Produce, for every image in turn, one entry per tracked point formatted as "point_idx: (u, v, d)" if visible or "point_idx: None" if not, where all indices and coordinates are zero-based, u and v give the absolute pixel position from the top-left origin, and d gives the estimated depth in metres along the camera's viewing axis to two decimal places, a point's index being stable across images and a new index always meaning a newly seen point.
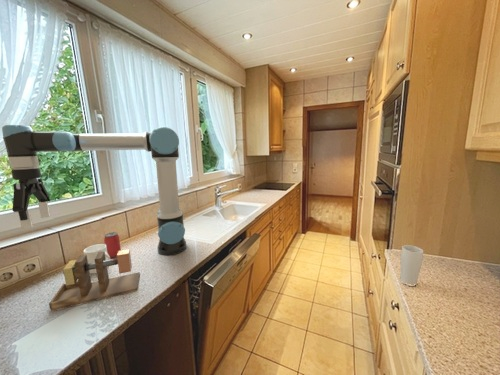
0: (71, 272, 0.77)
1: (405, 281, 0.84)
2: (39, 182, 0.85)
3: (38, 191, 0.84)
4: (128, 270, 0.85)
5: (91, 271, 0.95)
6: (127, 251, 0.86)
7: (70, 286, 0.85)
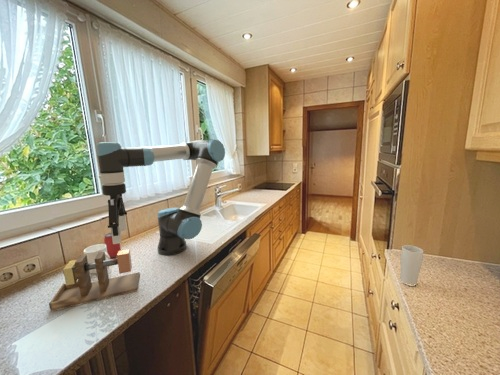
0: (71, 272, 0.77)
1: (405, 281, 0.84)
2: (120, 196, 0.87)
3: (120, 205, 0.85)
4: (128, 270, 0.85)
5: (91, 271, 0.95)
6: (127, 251, 0.86)
7: (70, 286, 0.85)
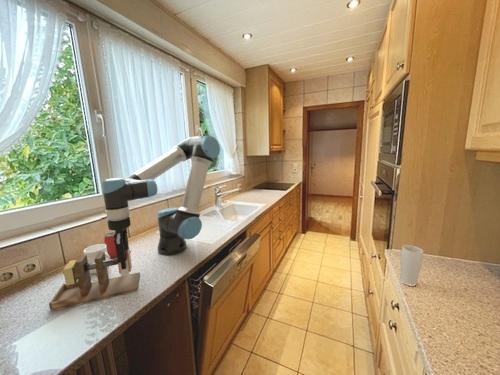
0: (71, 272, 0.77)
1: (405, 281, 0.84)
2: None
3: None
4: None
5: (91, 271, 0.95)
6: (127, 251, 0.86)
7: (70, 286, 0.85)
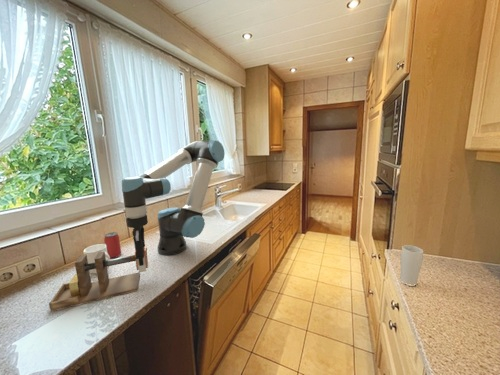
0: (76, 286, 0.78)
1: (405, 281, 0.84)
2: (141, 228, 0.91)
3: None
4: None
5: (91, 271, 0.95)
6: (144, 248, 0.88)
7: None
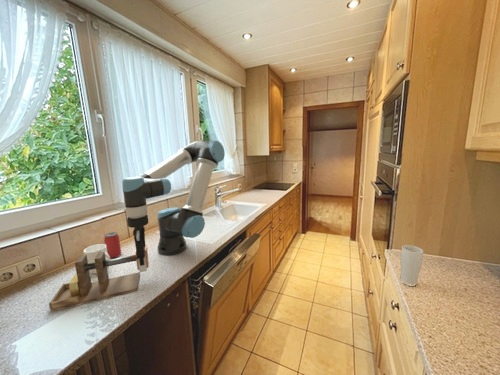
0: (76, 286, 0.78)
1: (405, 281, 0.84)
2: None
3: (142, 237, 0.89)
4: None
5: (91, 271, 0.95)
6: (145, 248, 0.88)
7: None
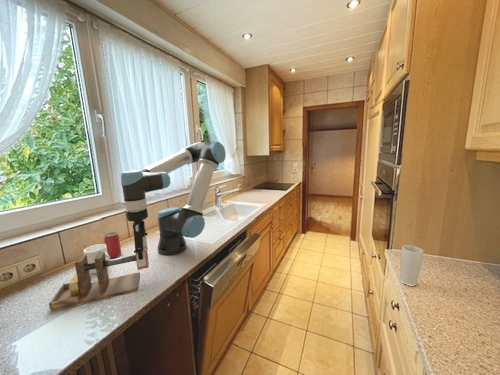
0: (76, 286, 0.78)
1: (405, 281, 0.84)
2: (141, 219, 0.91)
3: None
4: (146, 266, 0.88)
5: (91, 271, 0.95)
6: (145, 248, 0.88)
7: None
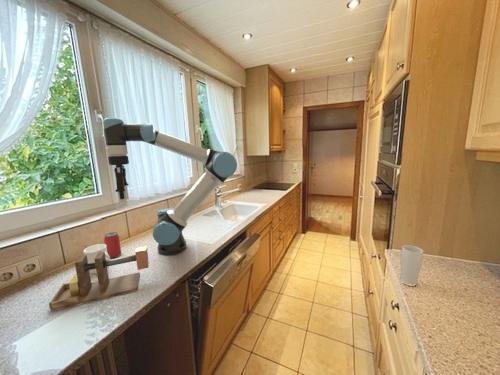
0: (76, 286, 0.78)
1: (405, 281, 0.84)
2: (123, 168, 0.98)
3: None
4: (146, 266, 0.88)
5: (91, 271, 0.95)
6: (145, 248, 0.88)
7: None
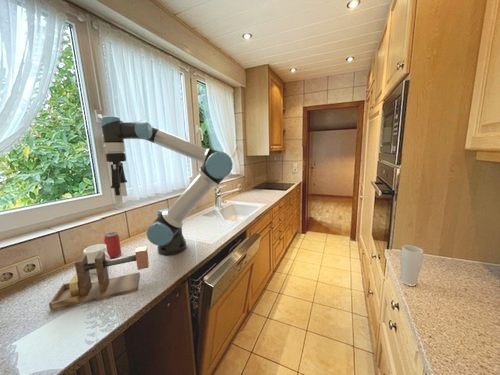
0: (76, 286, 0.78)
1: (405, 281, 0.84)
2: (121, 165, 1.00)
3: (121, 173, 0.99)
4: (146, 266, 0.88)
5: (91, 271, 0.95)
6: (145, 248, 0.88)
7: None
